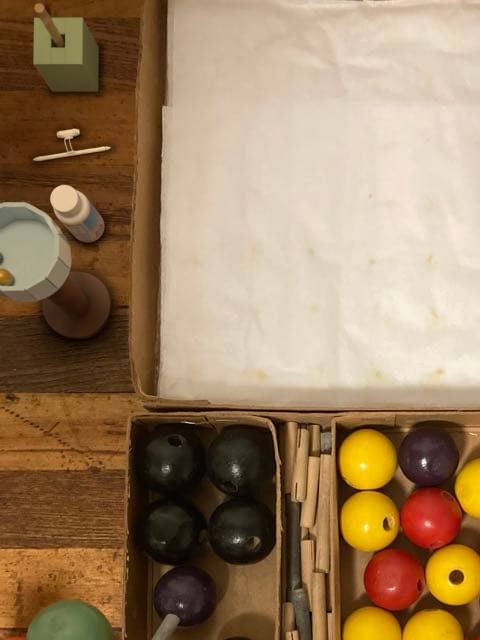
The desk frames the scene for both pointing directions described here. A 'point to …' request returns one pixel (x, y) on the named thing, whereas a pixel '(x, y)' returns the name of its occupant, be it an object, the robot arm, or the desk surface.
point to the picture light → (69, 135)
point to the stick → (49, 25)
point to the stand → (67, 56)
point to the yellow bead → (5, 277)
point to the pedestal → (78, 306)
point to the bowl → (32, 252)
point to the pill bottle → (77, 213)
